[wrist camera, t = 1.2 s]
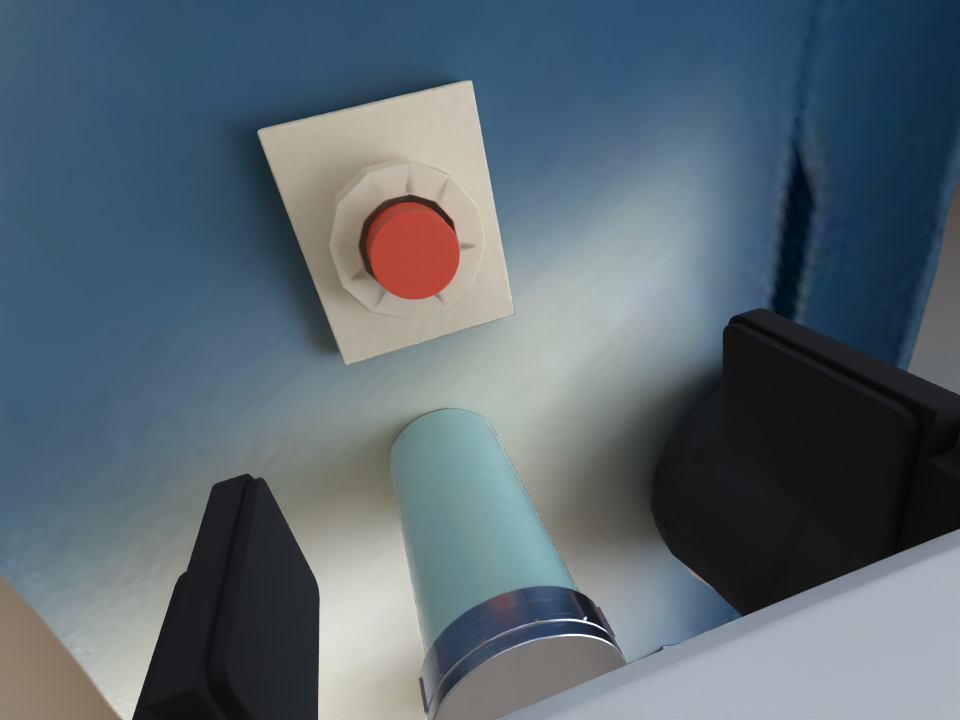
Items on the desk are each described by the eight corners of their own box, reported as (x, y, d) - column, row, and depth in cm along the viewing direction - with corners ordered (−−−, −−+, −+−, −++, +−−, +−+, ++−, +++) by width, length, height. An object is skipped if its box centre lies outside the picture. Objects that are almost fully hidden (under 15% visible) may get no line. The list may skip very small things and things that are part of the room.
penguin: (579, 528, 38) (746, 807, 23) (689, 300, 32) (1015, 484, 17) (759, 540, 45) (978, 763, 30) (880, 353, 39) (1235, 518, 24)
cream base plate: (259, 128, 22) (250, 134, 19) (463, 80, 23) (485, 79, 20) (344, 353, 28) (347, 385, 25) (506, 304, 29) (528, 329, 26)
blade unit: (397, 632, 19) (405, 691, 17) (592, 557, 20) (620, 605, 18) (445, 739, 22) (457, 796, 20) (608, 671, 23) (633, 720, 21)
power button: (354, 213, 22) (358, 224, 20) (438, 191, 22) (449, 200, 20) (380, 294, 23) (385, 310, 22) (457, 271, 24) (468, 286, 22)
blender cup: (374, 429, 30) (415, 672, 18) (487, 393, 31) (603, 598, 18) (406, 514, 33) (459, 769, 21) (507, 478, 34) (616, 702, 22)
